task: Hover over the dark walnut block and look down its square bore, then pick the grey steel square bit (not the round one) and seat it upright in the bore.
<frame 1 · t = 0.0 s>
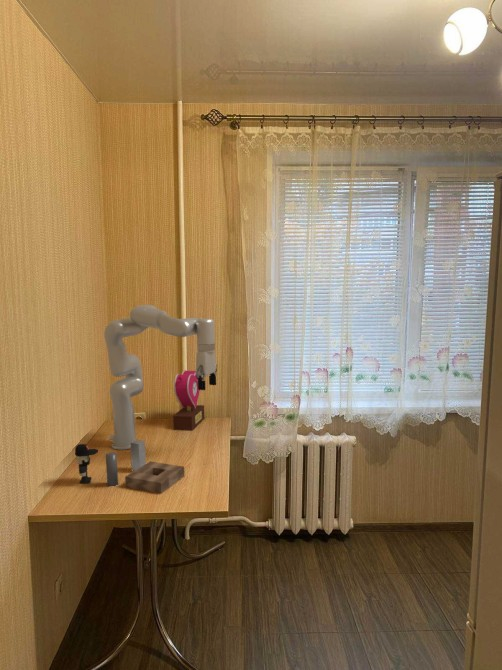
hand: (207, 387, 201), 31 cm above the table, fingers open, 9 cm apart
round bit: (112, 484, 179), on the table
toy: (88, 481, 182), on the table
bore block: (155, 481, 181), on the table
square bit: (139, 470, 192), on the table
decorative clock: (188, 425, 252), on the table
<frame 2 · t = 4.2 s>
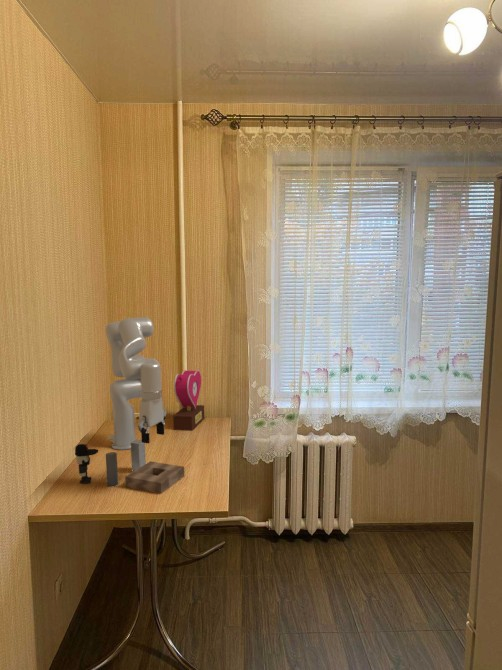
hand: (153, 438, 180), 17 cm above the table, fingers open, 9 cm apart
nothing on the table moved.
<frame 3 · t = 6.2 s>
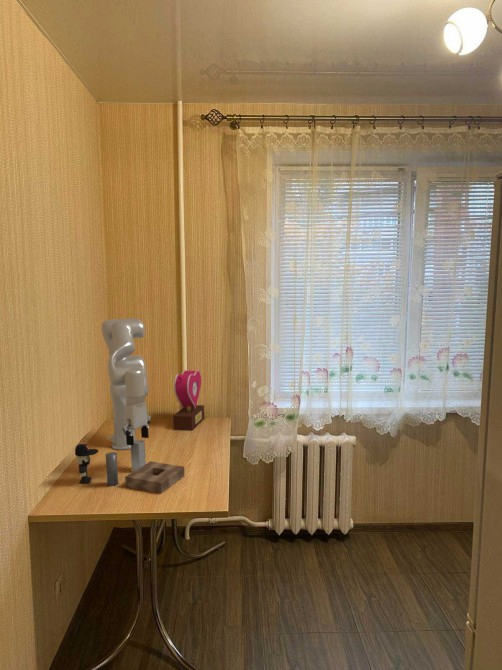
hand: (137, 441, 190), 12 cm above the table, fingers open, 9 cm apart
nothing on the table moved.
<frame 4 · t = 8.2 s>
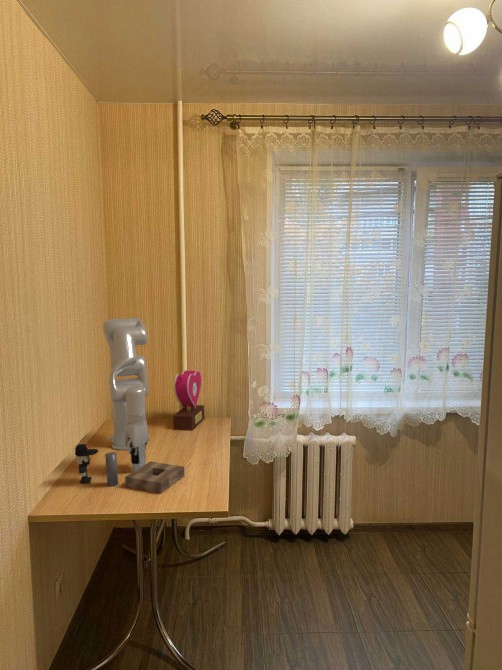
hand: (138, 461, 192), 4 cm above the table, fingers closed on square bit, 4 cm apart
square bit: (139, 470, 192), on the table, touching gripper
everything else where it was.
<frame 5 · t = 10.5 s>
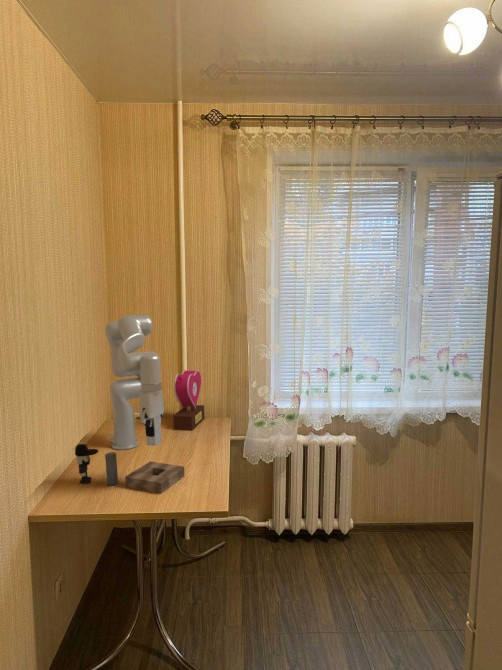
hand: (153, 434, 179), 19 cm above the table, fingers closed on square bit, 4 cm apart
square bit: (154, 443, 179), point 15 cm above the table, touching gripper
everything else where it was.
when the fingers open (5 cm above the table, at t = 12.8 s): square bit drops 1 cm, resting in bore block.
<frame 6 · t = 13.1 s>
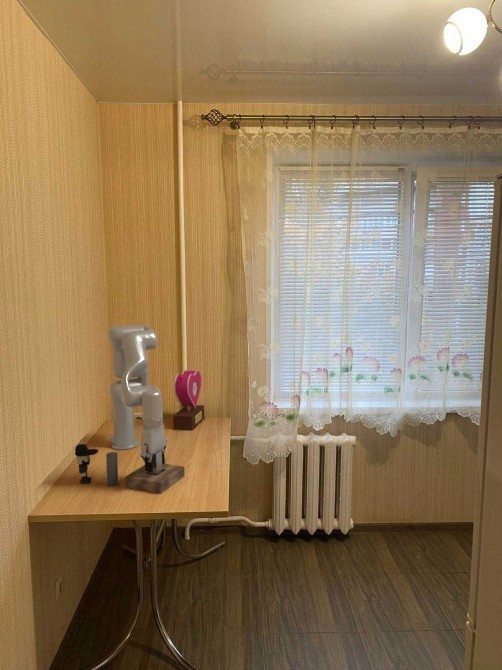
hand: (155, 467, 180), 6 cm above the table, fingers open, 7 cm apart
square bit: (155, 481, 181), resting in bore block
everything else where it was.
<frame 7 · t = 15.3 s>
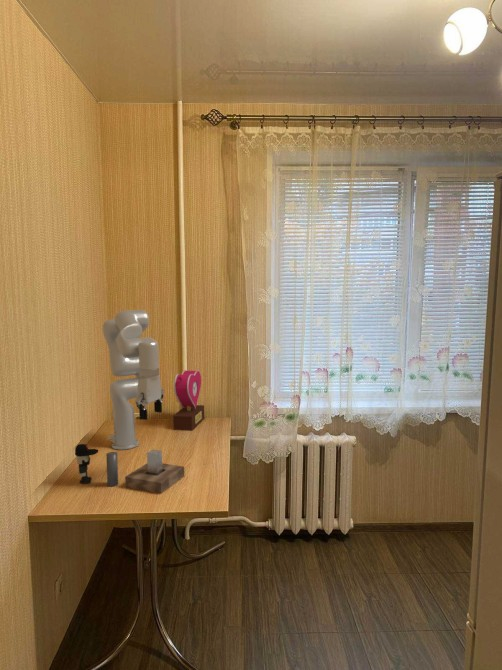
hand: (151, 415, 183), 25 cm above the table, fingers open, 9 cm apart
nothing on the table moved.
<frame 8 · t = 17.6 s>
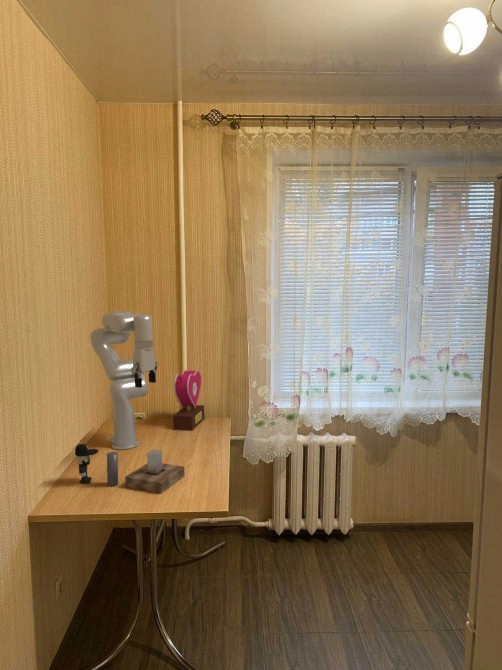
hand: (145, 384, 198), 33 cm above the table, fingers open, 9 cm apart
nothing on the table moved.
at the end: square bit 0.0 cm off-centre on the bore block, point 0.0 cm above the bore block's base; square bit tilted 0°; the gripper is holding nothing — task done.
